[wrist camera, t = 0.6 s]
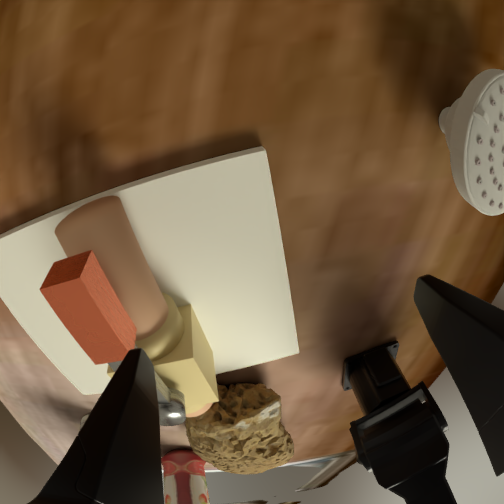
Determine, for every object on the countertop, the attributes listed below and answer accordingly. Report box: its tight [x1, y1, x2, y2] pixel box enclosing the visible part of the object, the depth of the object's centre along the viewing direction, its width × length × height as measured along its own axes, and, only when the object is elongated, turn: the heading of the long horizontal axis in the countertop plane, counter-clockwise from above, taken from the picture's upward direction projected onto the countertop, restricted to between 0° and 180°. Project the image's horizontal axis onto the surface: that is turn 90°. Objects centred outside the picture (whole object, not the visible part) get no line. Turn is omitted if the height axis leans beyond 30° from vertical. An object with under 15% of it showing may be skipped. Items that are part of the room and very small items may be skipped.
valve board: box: [0, 146, 299, 417], centre depth 20 cm, size 18×22×6 cm
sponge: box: [185, 383, 294, 474], centre depth 31 cm, size 13×8×20 cm
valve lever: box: [39, 250, 186, 426], centre depth 15 cm, size 13×3×2 cm, turn 11°
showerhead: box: [439, 69, 504, 216], centre depth 15 cm, size 9×7×10 cm
